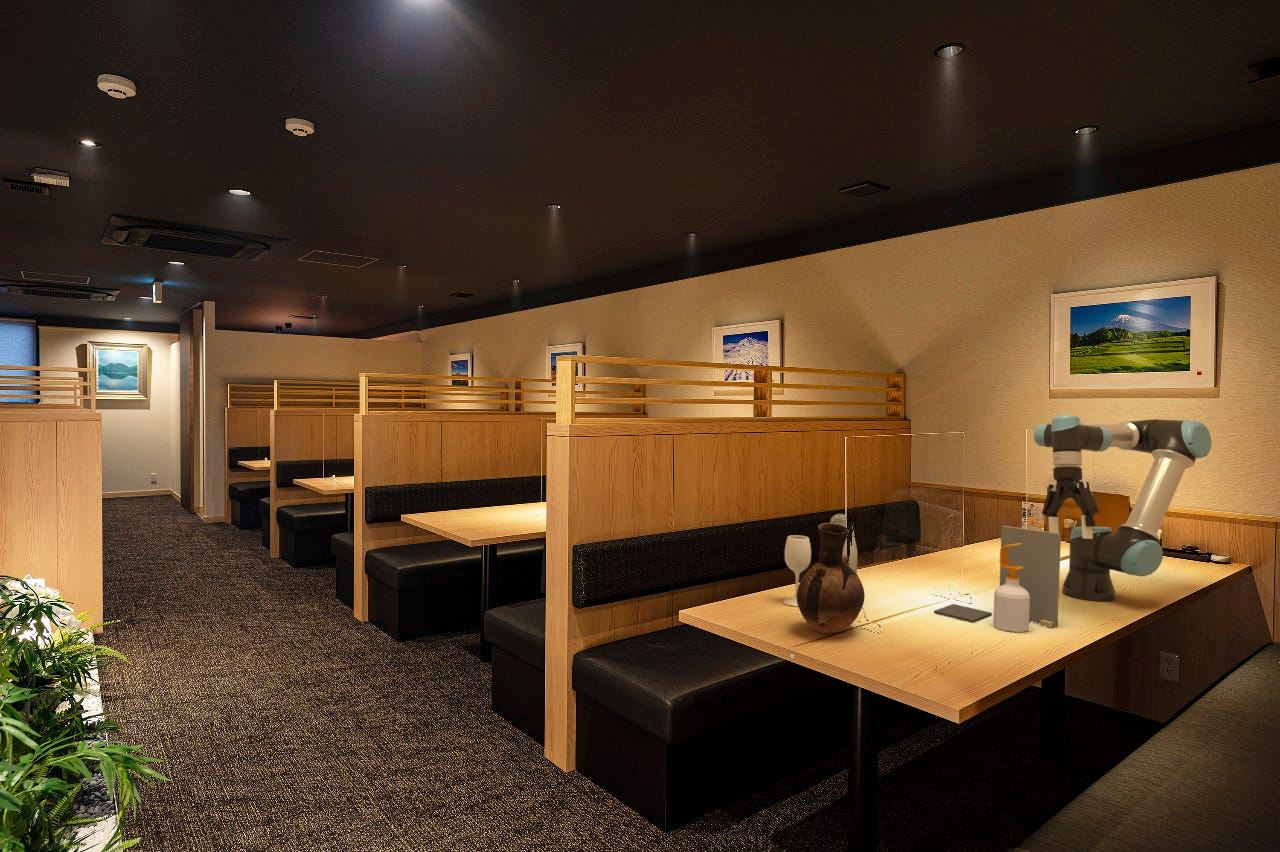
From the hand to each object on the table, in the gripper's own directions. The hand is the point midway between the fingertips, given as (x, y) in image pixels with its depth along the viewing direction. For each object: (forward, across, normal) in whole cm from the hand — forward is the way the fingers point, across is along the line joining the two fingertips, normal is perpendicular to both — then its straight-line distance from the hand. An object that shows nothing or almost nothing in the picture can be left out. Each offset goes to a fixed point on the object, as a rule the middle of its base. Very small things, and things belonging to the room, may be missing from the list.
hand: (1070, 538), depth 220 cm
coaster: (+24, -14, -26) cm, 38 cm away
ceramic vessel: (+29, -4, -73) cm, 79 cm away
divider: (+24, -6, -11) cm, 27 cm away
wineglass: (+24, -31, -72) cm, 82 cm away
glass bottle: (+23, -32, -58) cm, 70 cm away
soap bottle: (+26, 0, -20) cm, 33 cm away
